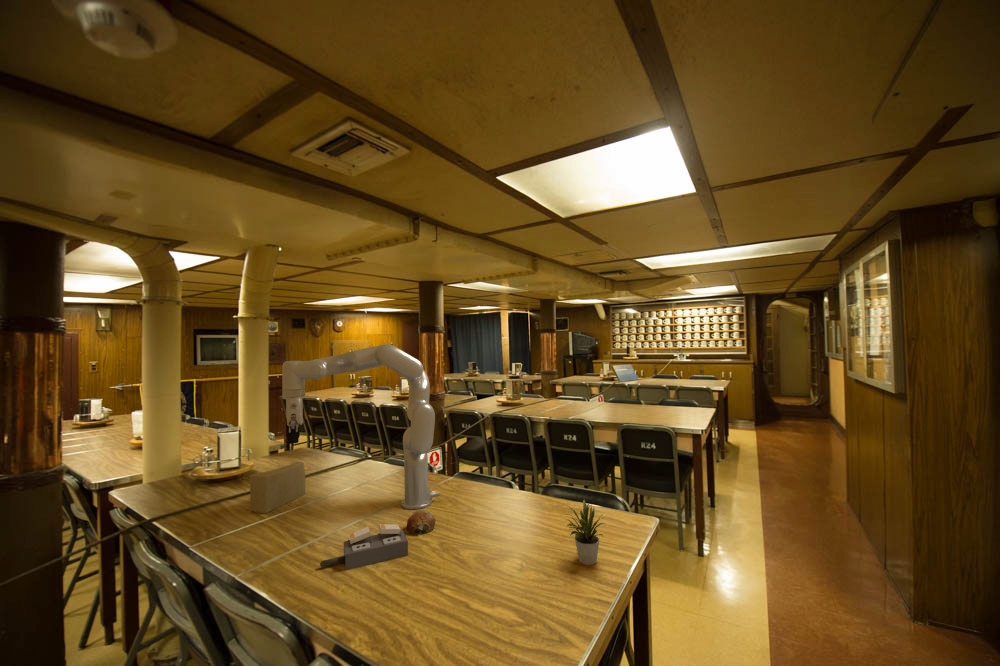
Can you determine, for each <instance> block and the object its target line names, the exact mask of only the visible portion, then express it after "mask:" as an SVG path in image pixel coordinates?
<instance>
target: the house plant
mask: <svg viewBox="0 0 1000 666" xmlns="http://www.w3.org/2000/svg"><path fill="white" fill-rule="evenodd" d="M582 502H583V503H582V505H583V506H582V507H583V508H582V509H581V510H580V513H579V515H580V517H579V515H578V514H577V512H576V510H575V509H573V508H572V507H571V506H569V505H567V504H562V505H564V506H566V507H568V508H569V509H570V510H571V511H572V512H573V514H574V515H575V516H573V515H572V514H569V513H564V514H562V515H563V516H570V518H571V519H573V521H574V522H575V523H576V524H577V525H576V524H574V523H573V521H571V520H570V519H567V518H566V519H565V520H566V521H568V522H569V523H568V524H567V525H566V526H565V528H567V527H568V528H569V529H568V531H569V530H570V531H571V532H570V535H569V536H571V535H574V540H575V541H574V542H575V546H576V552H577V557H578V558H577V559H578V561H579V563H581V564H582V565H587V566H590V565H595V564H596V563H597V562H598V553H599V545H600V538H599V537H598V536H601V537H602V538H604V537H603V533H599V534H597V533H598V530H597V528H598V527H600V526H601V525H606V523H605V522H600V523H598V522H599V521H600V520H602V519H603V517H602V516H603V515H604V513H602V514H601V515H600V516H599V518H598V519H597V520H596V521H594V519H595V513H596V512H595V507H593V505H592V504H591V505H590V503H586V500H585V499H583V500H582ZM593 521H594V522H593ZM574 529H575V530H574Z"/></svg>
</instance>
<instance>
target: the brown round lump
mask: <svg viewBox="0 0 1000 666" xmlns="http://www.w3.org/2000/svg"><path fill="white" fill-rule="evenodd" d="M435 524H436V518H435V516H434V515H433V514H432V513H431V512H430V511H428V510H426V509H421V510H420V509H417V510H416V511H414V513H412V514H411V516H409V517H408V518H407V522H406V529H407V532H408V533H409V534H411V535H416V534H417V535H418V534H420V535H424V534H428V533H429V531H430V532H432V531H433V530H434V529H435ZM431 530H432V531H431ZM427 532H428V533H427Z"/></svg>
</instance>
